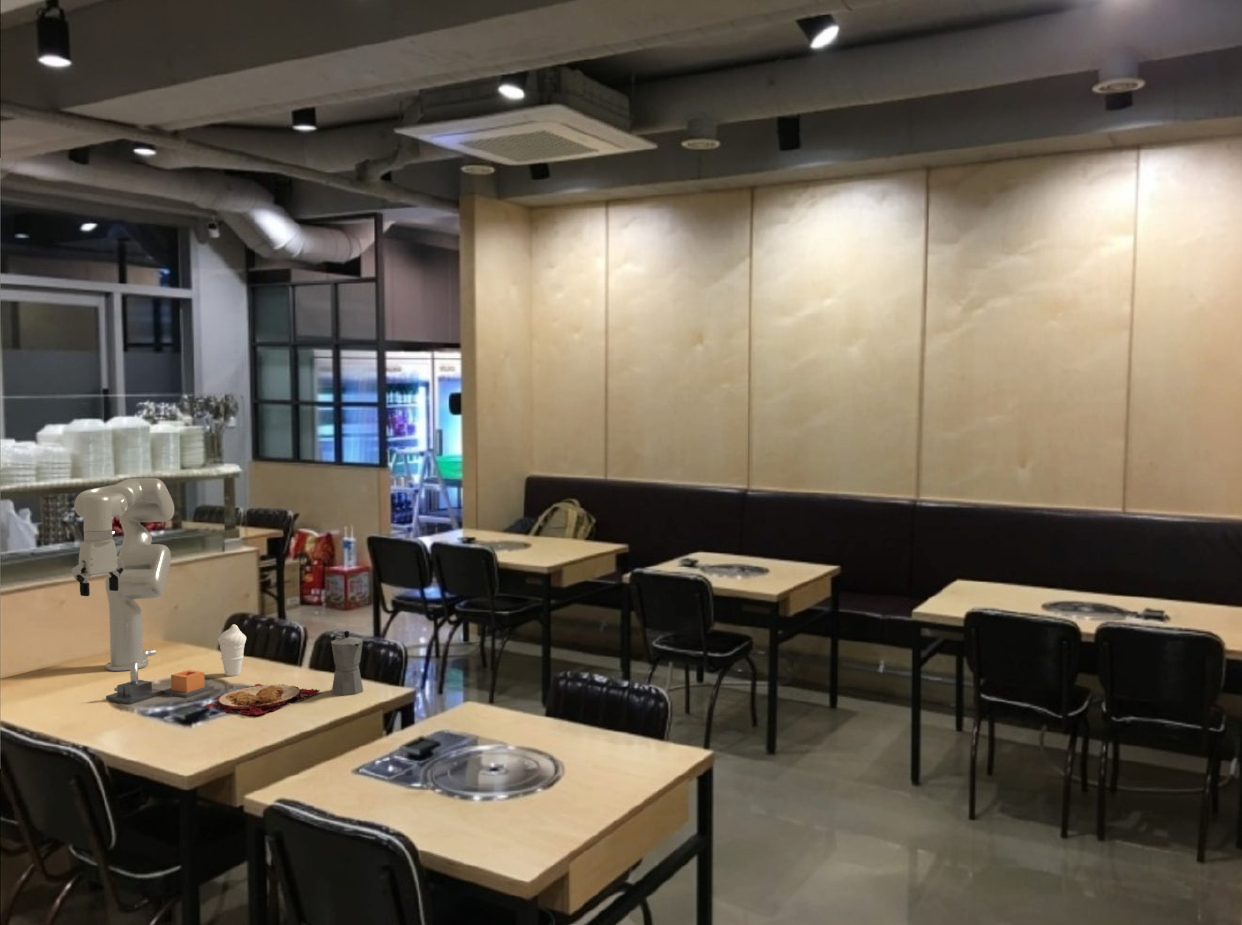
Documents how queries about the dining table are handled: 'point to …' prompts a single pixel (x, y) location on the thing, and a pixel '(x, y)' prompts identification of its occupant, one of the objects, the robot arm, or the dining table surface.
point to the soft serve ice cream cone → (232, 650)
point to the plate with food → (260, 698)
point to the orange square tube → (187, 681)
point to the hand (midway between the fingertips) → (99, 593)
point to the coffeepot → (347, 665)
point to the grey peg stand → (134, 689)
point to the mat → (187, 694)
